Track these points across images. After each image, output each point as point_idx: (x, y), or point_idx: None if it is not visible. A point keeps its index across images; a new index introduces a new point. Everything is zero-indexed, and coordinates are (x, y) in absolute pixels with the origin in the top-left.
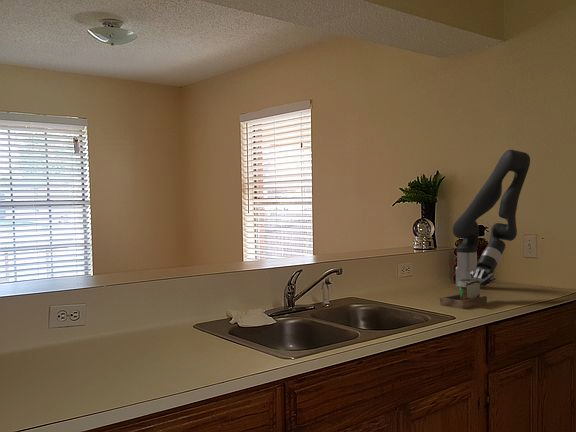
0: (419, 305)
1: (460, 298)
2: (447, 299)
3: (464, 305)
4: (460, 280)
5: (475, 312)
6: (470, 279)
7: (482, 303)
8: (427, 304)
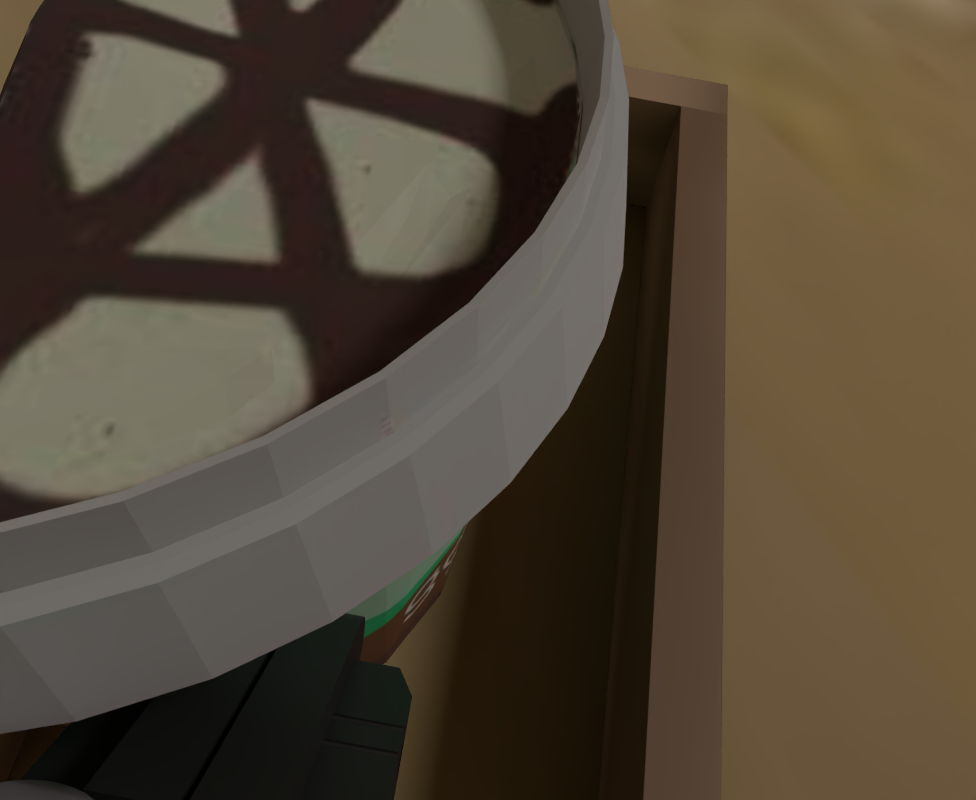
0: (880, 68)
1: (628, 650)
2: None
3: None
4: (588, 38)
5: (17, 4)
6: (325, 424)
7: None
8: (861, 156)
